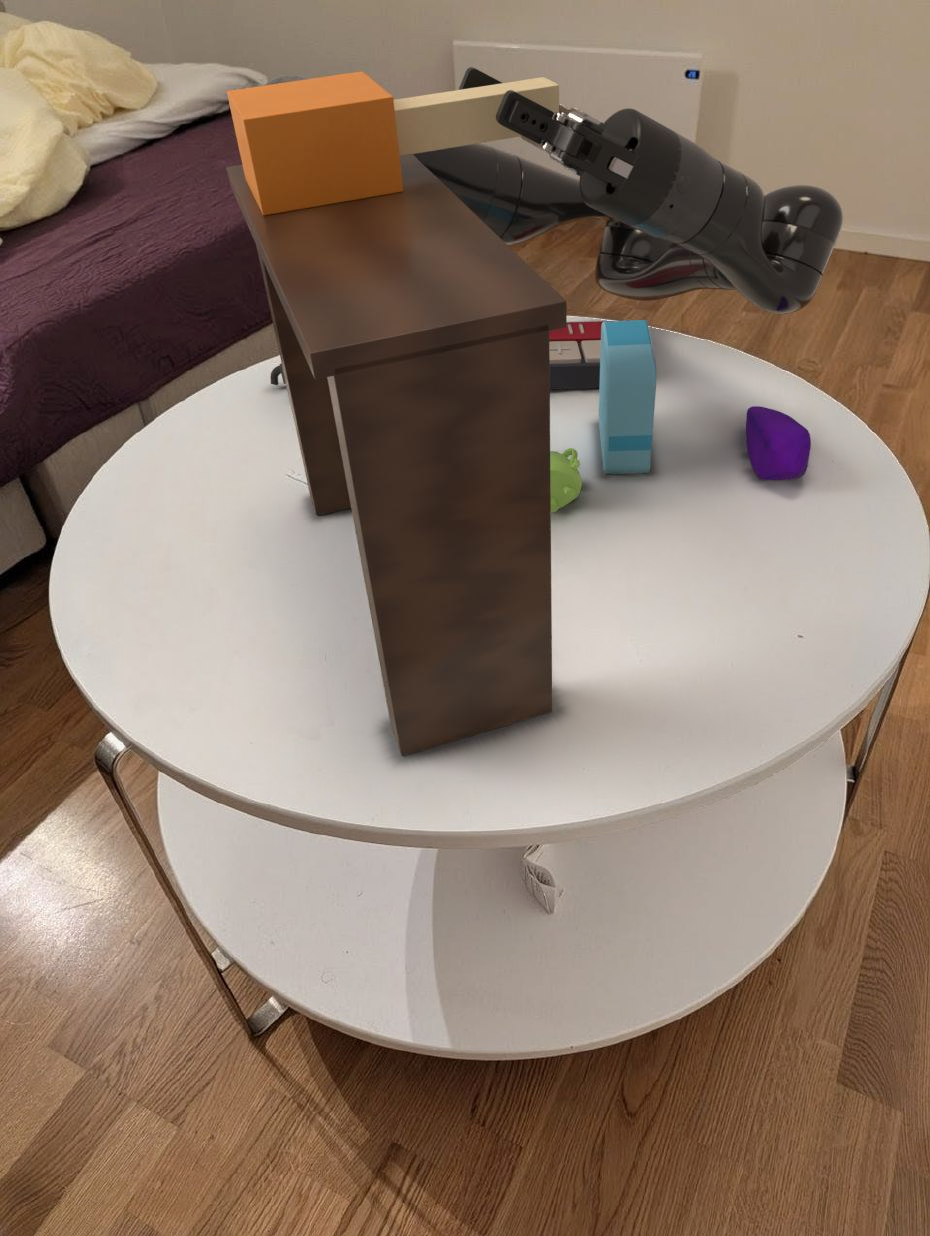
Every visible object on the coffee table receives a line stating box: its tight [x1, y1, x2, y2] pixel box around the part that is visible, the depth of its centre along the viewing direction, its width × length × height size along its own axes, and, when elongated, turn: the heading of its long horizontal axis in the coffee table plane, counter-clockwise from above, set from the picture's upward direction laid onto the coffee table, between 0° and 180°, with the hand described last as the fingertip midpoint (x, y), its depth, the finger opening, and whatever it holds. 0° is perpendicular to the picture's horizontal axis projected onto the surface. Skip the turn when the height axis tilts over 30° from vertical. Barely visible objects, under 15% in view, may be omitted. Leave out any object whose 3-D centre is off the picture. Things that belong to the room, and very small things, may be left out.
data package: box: [598, 319, 658, 475], centre depth 93 cm, size 12×4×12 cm, turn 177°
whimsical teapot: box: [550, 447, 583, 513], centre depth 89 cm, size 6×5×6 cm
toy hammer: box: [226, 70, 560, 216], centre depth 66 cm, size 23×9×6 cm, turn 108°
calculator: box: [549, 320, 608, 390], centre depth 110 cm, size 11×4×15 cm
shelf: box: [226, 154, 568, 756], centre depth 71 cm, size 14×36×32 cm, turn 18°
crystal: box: [745, 405, 812, 481], centre depth 93 cm, size 5×5×15 cm
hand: (481, 92), depth 66 cm, fingers open, 8 cm apart
